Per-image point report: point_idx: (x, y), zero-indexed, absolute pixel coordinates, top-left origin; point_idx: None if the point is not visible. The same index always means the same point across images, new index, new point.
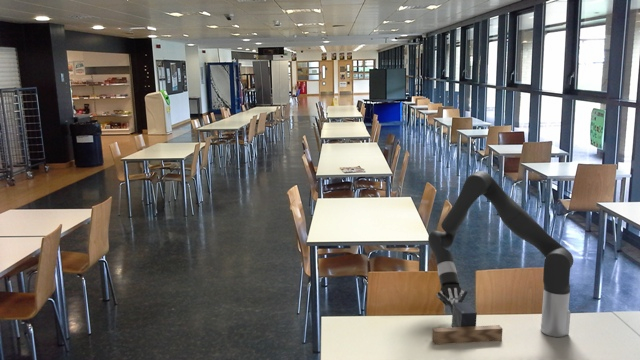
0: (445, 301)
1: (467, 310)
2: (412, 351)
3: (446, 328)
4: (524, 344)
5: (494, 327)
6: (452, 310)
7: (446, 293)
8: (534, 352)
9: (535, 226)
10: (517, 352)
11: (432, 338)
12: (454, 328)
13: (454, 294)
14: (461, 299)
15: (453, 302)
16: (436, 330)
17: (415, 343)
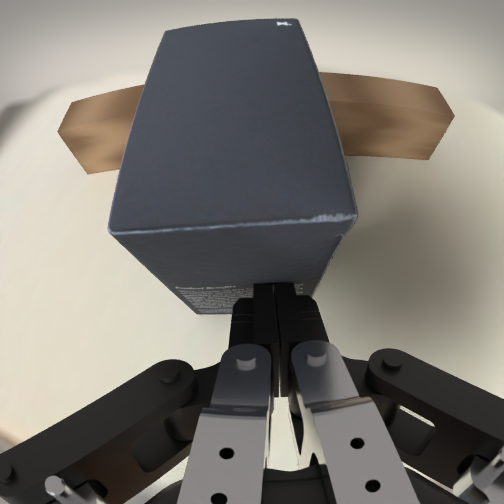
0: (430, 365)
1: (228, 36)
2: (473, 112)
3: (385, 98)
4: (46, 132)
5: (97, 104)
6: (315, 312)
7: (440, 499)
8: (61, 95)
9: None
10: (105, 85)
11: (431, 149)
12: (339, 90)
13: (263, 483)
14: (140, 399)
15: (347, 209)
16: (433, 94)
17: (480, 153)
